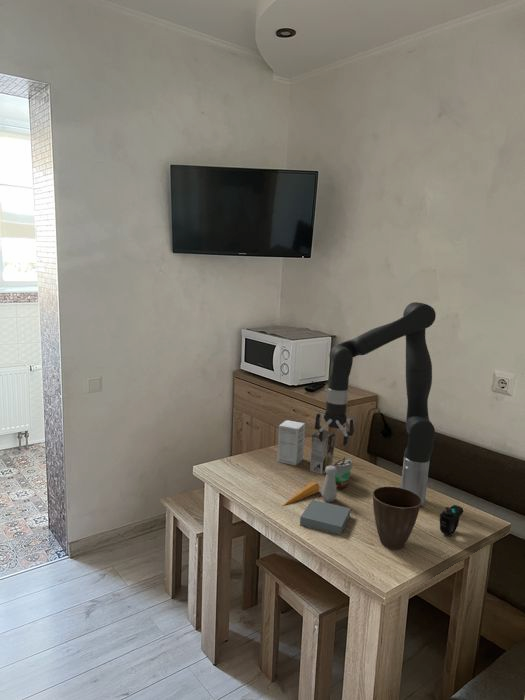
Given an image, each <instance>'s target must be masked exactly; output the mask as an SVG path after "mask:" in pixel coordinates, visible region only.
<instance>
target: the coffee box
mask: <svg viewBox="0 0 525 700" xmlns="http://www.w3.org/2000/svg"><path fill="white" fill-rule="evenodd" d="M335 435H336V433H335V432H331V431H329V430H325V429H324V440H323V442H321V441H320V440H319V431H317V432H315V433H313V434H312V436H311V448H310V449H311V451H310V463H309V464H310V465H309V471H311V472H314V473H316V474H320V475H324V474H326V472H325V469H326V467H327V466H330V464H331V465H334V463H333V460H334V451H335V450H334V449H335V437H336V436H335Z"/></svg>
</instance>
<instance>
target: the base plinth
mask: <svg viewBox="0 0 525 700" xmlns="http://www.w3.org/2000/svg"><path fill="white" fill-rule="evenodd" d="M350 516H351V508H350V507H346V506H341V505H337V504H332V503H330V502H326V501H320V500H315V499H311V501H310V502H309V503H308V505H307V506H306V508H305V510H304V511H303V512H302V514H301V515H300V517H299V518H300V520H299V526H301V527H306V528H310V529H314V530H318V531H321V532H322V531H323V532H326V533H330V534H334V535H338V536H341V535H342V533H343V531H344V529H345V527H346V525H347V523H348V521H349V520H350V519H349V518H350Z"/></svg>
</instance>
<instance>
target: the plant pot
mask: <svg viewBox="0 0 525 700" xmlns="http://www.w3.org/2000/svg"><path fill="white" fill-rule="evenodd" d="M372 505H373V514H374V520H375V527H376V529H377V535H378V538H379V541H380V543H381V545H382V546H383V545H384V547H385V548H387V547H388V548H387V549H390V548H391V550H401V549H403V548H404V547H405V545H406V544H407V542H408V540H409V538H410V535H411V533H412V531H413V529H414V527H415V524H416V522H417V519H418V516H419V512H420V509H421V506H420V505H421V499H420V497H419V496H418V495H417V494H415V493H413V492H411V491H409V490H406V489H403V488H401V487H397V486H380V487H378V488H375V489H374V490H373V491H372Z"/></svg>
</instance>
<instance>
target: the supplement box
mask: <svg viewBox="0 0 525 700" xmlns="http://www.w3.org/2000/svg"><path fill="white" fill-rule="evenodd" d="M305 430H306V423H304V422H298V421H294V420H288V419H287V420H284V421H283V422H282V423H280V424H279V425H278V434H277V435H278V436H277V438H278V439H277V454H276V455H277V456H276V461H278V463H282V464H287V465H292V466H297V465H299V464H300V463H301V462H302V461H303V460H304V454H305V453H304V450H305V434H306V431H305Z"/></svg>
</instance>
